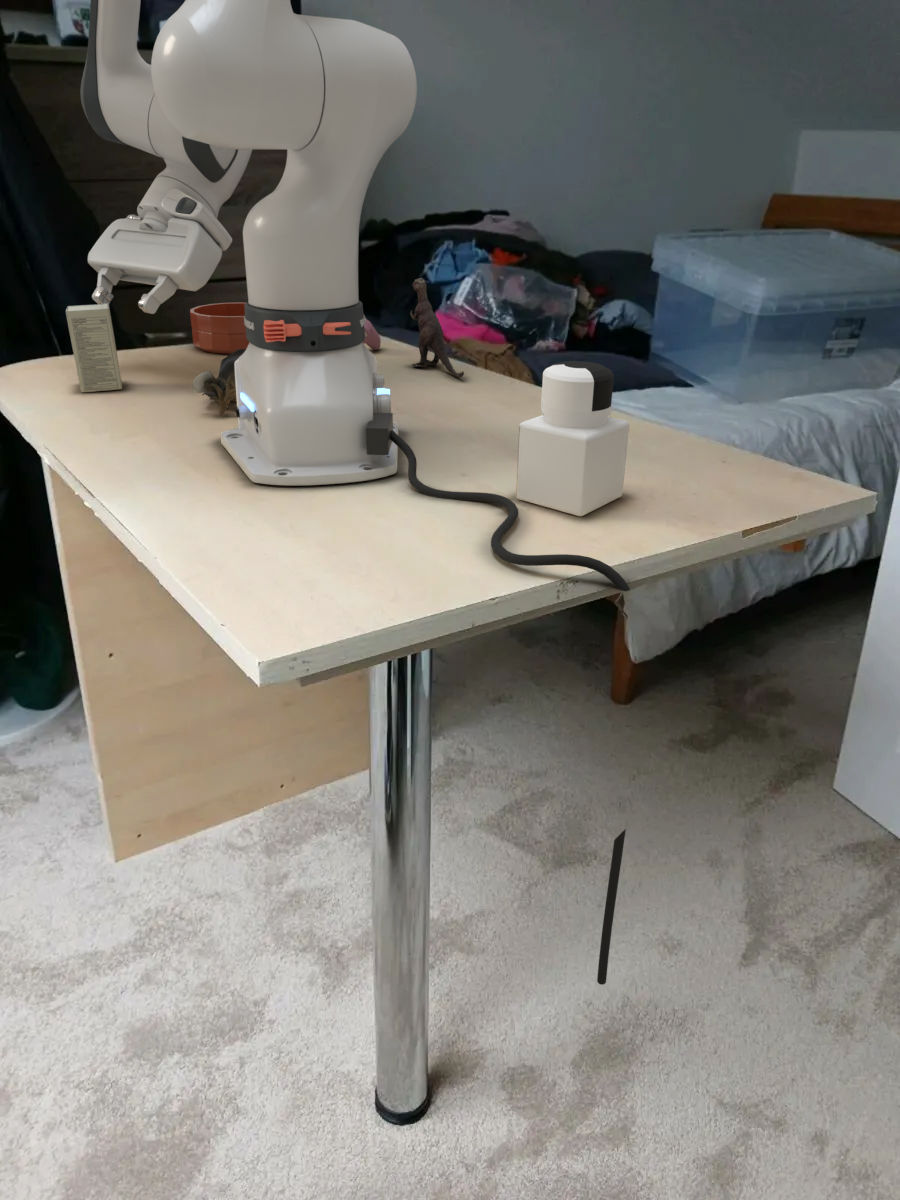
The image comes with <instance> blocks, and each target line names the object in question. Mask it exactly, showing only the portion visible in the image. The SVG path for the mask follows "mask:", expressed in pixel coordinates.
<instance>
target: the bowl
mask: <svg viewBox="0 0 900 1200" xmlns="http://www.w3.org/2000/svg"><path fill="white" fill-rule="evenodd" d="M246 303H247V302H220V303H208V304H203V305H197V306H195V307H192V308H190V309H189V314H190V325H191V333H192V343H193V346H195V347H197V348H199V349H200V350H202V351H205V352H208V353H213V354H225V355H227V354H228V355H230V354H232V353H233V352H235V351H236V350H239V349H247V347H248V345H249V341H248V340H247V338H246V326H245V324H244V316H245V304H246Z"/></svg>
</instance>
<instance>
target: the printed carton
mask: <svg viewBox="0 0 900 1200" xmlns="http://www.w3.org/2000/svg"><path fill="white" fill-rule="evenodd" d="M65 315H66V321H67V326H68V332H69V336H70V342H71V347H72V352H73V358H74V362H75V363H74V364H75V368H76V374H77V378H78V384H79V388H80V393H93V392H102V391H104V392H105V391H115V390H123V382H122V374H121V369H120V364H119V357H118V351H117V345H116V339H115V333H114V327H113V322H112V316H111V310H110V304H109V305H108V304H98V303H97V304H81V305H68V306H67V307H66V309H65Z"/></svg>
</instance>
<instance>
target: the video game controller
mask: <svg viewBox="0 0 900 1200" xmlns="http://www.w3.org/2000/svg"><path fill="white" fill-rule="evenodd" d="M364 328H365V340H364V341H363V344H364V345H366V346H367V347H369V348H370V349H372V350H373V351H377V350H379V349H380V348H381V343H382V340H381V336H380V334H379V333H378V331H377V330H376V328H375V327H374V326H373V324H372V323H371V321H370V320H368V319H367V317H365V325H364Z"/></svg>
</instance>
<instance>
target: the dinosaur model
mask: <svg viewBox="0 0 900 1200" xmlns="http://www.w3.org/2000/svg"><path fill="white" fill-rule="evenodd" d="M412 288H413V290H414V291H415V292H416V294H417V305H416V306H415V309H414V313H413V310H411V311H410V312H409V315H410V317H411V319H412V320H413V321H416V322H417V325H418V329H419V336H418V350H419V354H420V359H419V362H416V363H411V367H419V366H420V367H425V366H428V365H434V366H435V367H436V366H437V365H438V364H439V363H440V362H441V364H442V365H443V366H444V367H445V369H446V371H448V372H449V374H451V375H452V376H453V377H454V378H462V377H464V375H465V372H464V370H463V371H461V372H459V373H458V372H457V371H456V370H455V368H454V367H453V365H452V363H451V361H450V358H449V354H448V352H447V349H446V344H445V340H444V330H443V328H442V325H441V322H440V320H439V318H438V317H437V314H436V313H435V312H434V310H433V306H432V304H431V302H430V300H429V299H428V293H427V284H426V281H425V279H424V278H423V277H418V278H416V279H414V281H413V283H412ZM429 350H432V351H433V355H434V356H433V359H432V360H429V359H428V354H429Z"/></svg>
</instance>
